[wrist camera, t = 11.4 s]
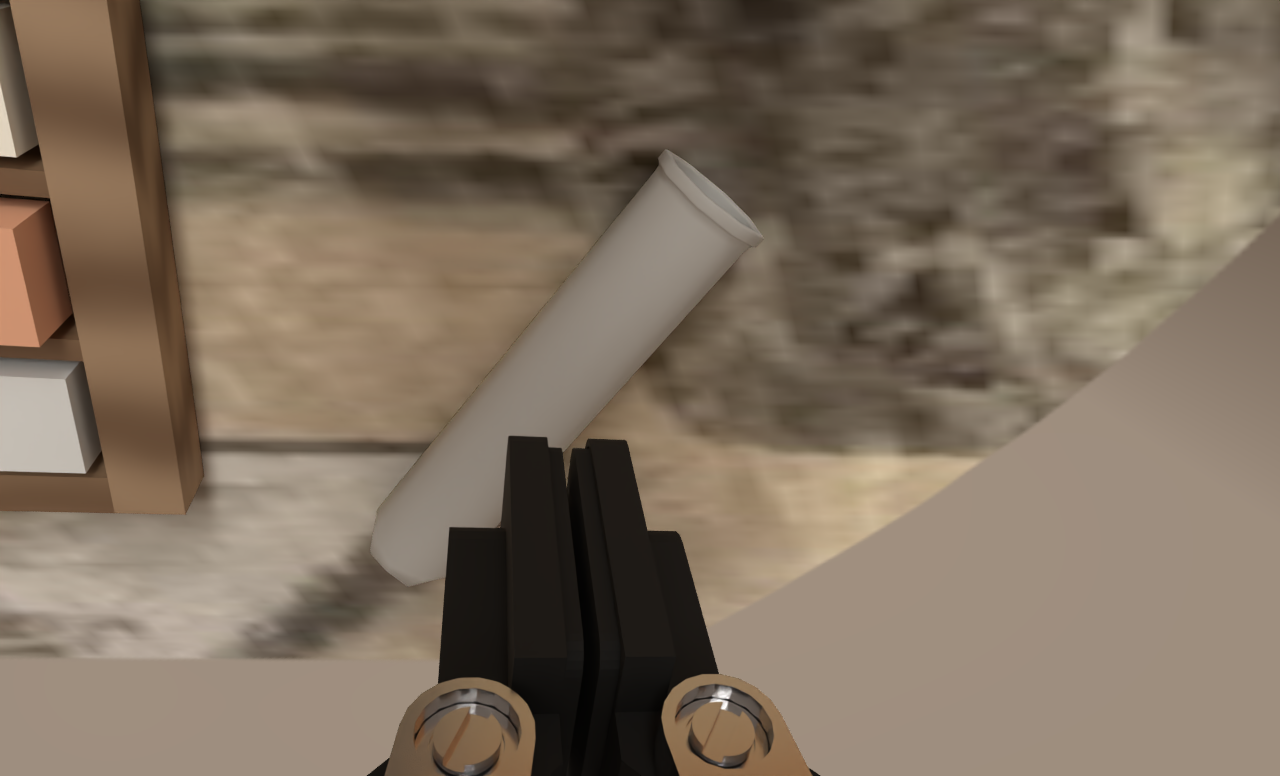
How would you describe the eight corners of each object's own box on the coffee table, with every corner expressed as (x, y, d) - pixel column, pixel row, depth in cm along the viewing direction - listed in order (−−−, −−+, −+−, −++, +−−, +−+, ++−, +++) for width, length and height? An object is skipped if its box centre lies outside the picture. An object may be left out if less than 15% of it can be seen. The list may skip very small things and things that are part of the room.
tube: (450, 612, 44) (781, 253, 36) (357, 598, 41) (701, 196, 33) (429, 534, 48) (726, 190, 40) (342, 515, 44) (649, 133, 36)
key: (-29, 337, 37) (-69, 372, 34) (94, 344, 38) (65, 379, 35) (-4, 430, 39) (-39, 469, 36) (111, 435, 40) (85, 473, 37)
